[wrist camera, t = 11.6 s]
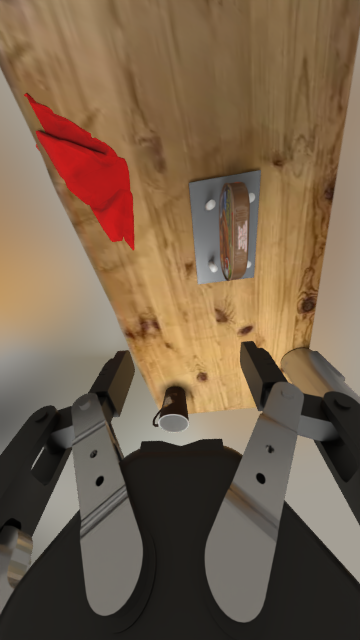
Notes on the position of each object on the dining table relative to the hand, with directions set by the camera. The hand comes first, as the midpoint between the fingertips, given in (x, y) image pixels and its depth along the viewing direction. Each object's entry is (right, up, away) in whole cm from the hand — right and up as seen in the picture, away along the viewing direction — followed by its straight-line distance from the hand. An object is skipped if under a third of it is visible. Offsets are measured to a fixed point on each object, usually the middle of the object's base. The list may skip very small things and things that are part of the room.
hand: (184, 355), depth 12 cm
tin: (+9, +19, +21) cm, 30 cm away
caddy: (+8, +19, +22) cm, 30 cm away
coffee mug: (-3, -22, +45) cm, 50 cm away
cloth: (-16, +28, +19) cm, 37 cm away
